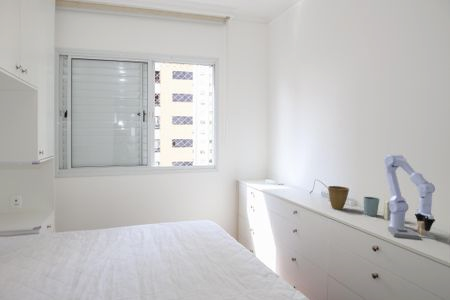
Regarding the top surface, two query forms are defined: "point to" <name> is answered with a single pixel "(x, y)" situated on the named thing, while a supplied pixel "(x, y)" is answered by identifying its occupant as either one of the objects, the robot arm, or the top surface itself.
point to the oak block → (422, 229)
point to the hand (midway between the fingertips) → (423, 228)
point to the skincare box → (387, 210)
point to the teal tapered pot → (371, 206)
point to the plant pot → (338, 196)
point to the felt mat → (426, 236)
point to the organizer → (403, 232)
